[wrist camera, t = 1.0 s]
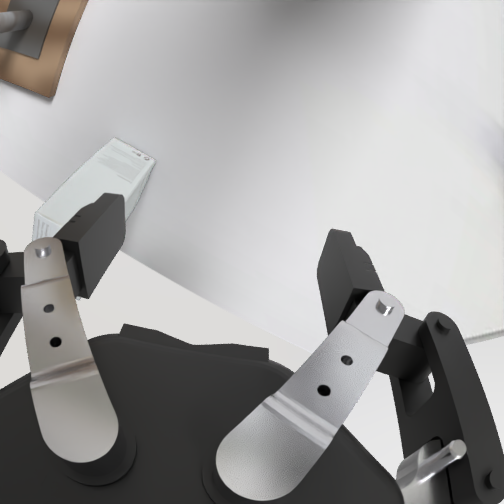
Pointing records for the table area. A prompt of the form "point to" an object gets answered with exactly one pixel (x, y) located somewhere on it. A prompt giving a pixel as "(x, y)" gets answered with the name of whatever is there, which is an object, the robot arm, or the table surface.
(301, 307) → the table surface
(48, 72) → the post stand
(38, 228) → the skincare box
